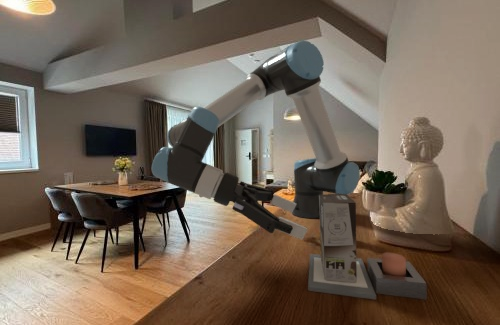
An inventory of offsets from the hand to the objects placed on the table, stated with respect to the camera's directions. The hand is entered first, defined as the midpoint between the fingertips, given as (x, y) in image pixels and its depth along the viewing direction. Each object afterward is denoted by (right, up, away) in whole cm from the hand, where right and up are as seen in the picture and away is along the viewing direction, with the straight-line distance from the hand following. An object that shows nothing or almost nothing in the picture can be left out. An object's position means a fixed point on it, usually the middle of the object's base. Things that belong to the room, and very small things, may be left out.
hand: (298, 219), depth 55 cm
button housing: (+17, -11, -10) cm, 22 cm away
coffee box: (+7, -10, -6) cm, 13 cm away
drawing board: (+7, -11, -6) cm, 14 cm away
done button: (+17, -9, -10) cm, 21 cm away
